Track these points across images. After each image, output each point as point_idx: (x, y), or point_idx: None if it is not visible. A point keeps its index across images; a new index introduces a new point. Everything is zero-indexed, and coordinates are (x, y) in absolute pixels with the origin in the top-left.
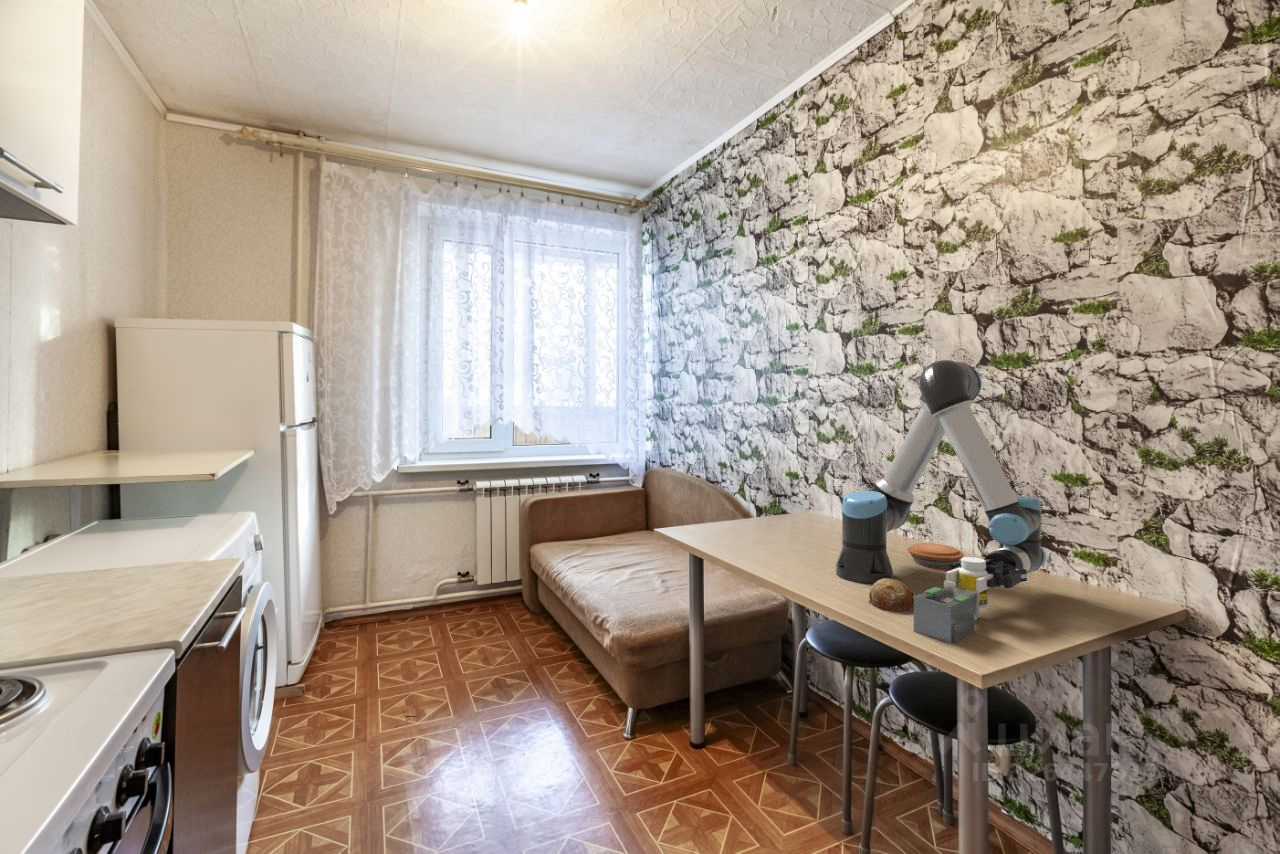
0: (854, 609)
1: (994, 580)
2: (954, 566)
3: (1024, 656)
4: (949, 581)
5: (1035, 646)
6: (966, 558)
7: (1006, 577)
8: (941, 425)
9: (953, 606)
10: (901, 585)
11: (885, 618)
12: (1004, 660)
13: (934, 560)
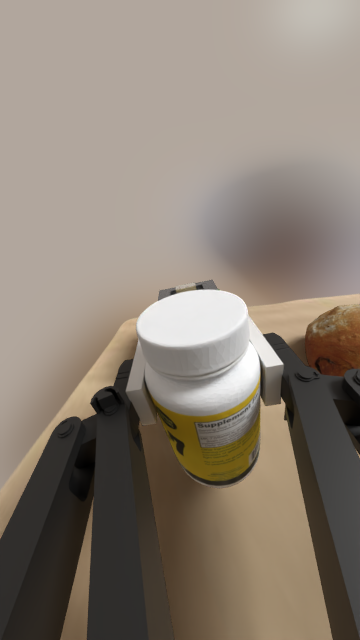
0: (322, 310)
1: (118, 375)
2: (349, 392)
3: (93, 369)
4: (186, 286)
5: (76, 411)
6: (220, 303)
7: (71, 418)
8: None
9: (159, 294)
10: (342, 325)
11: (272, 322)
12: (113, 345)
13: None
